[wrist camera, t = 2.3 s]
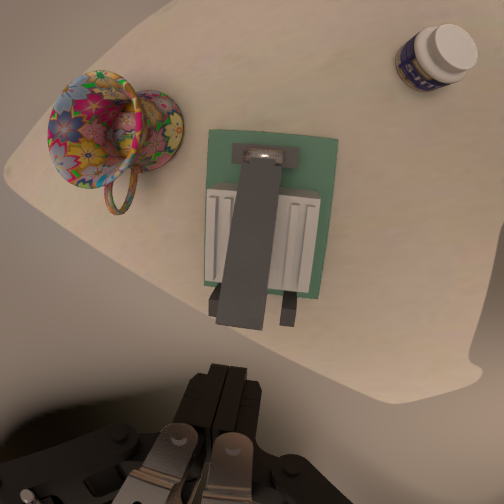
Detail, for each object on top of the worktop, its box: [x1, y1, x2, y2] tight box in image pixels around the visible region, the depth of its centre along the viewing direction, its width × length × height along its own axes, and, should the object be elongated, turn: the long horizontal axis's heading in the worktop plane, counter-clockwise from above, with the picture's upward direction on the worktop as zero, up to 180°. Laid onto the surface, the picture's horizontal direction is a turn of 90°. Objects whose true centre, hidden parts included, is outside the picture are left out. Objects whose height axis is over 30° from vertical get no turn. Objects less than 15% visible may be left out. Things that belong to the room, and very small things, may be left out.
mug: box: [48, 70, 183, 215], centre depth 26 cm, size 12×9×11 cm
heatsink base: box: [204, 130, 338, 327], centre depth 28 cm, size 12×16×8 cm
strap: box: [216, 148, 284, 330], centre depth 21 cm, size 3×12×1 cm
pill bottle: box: [396, 24, 478, 91], centre depth 20 cm, size 5×5×9 cm
